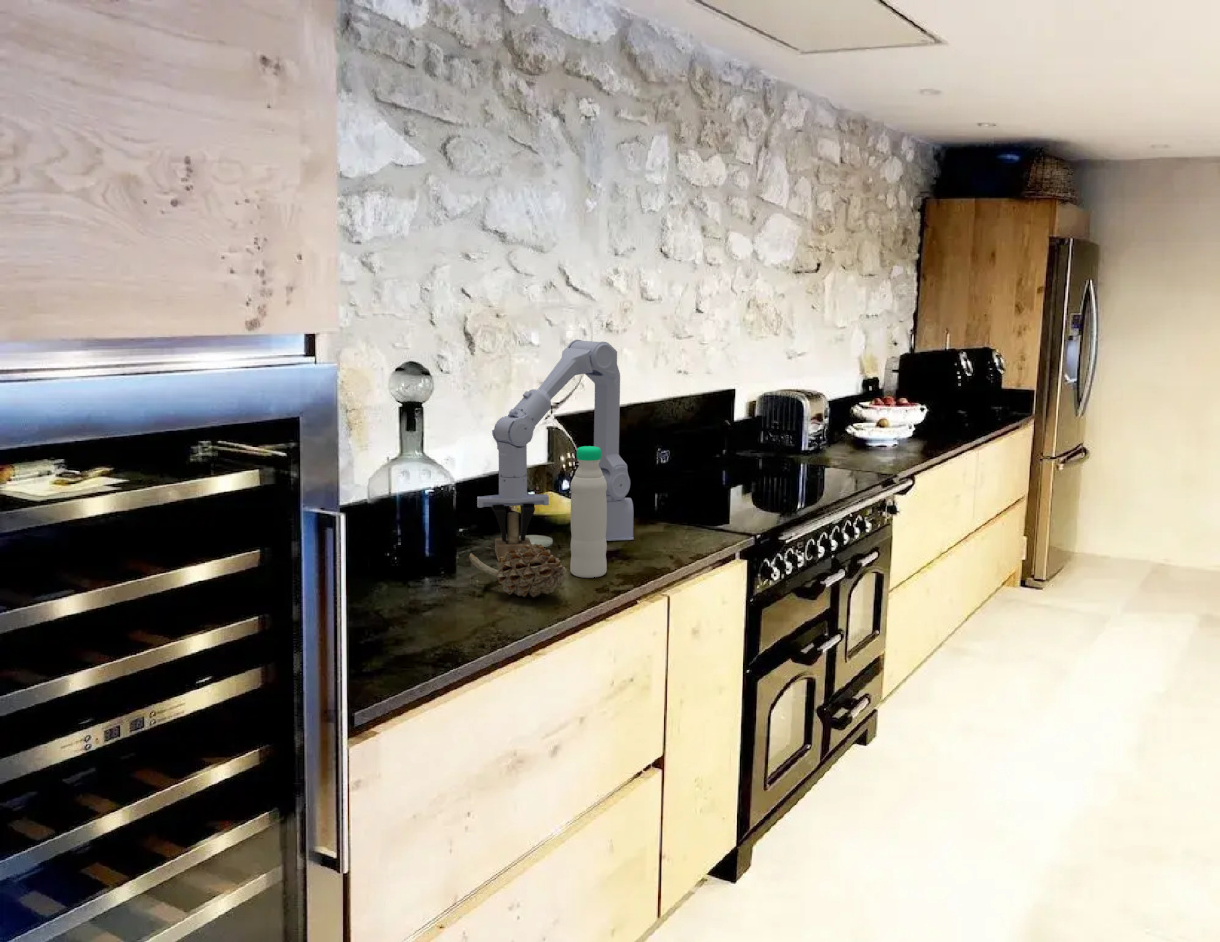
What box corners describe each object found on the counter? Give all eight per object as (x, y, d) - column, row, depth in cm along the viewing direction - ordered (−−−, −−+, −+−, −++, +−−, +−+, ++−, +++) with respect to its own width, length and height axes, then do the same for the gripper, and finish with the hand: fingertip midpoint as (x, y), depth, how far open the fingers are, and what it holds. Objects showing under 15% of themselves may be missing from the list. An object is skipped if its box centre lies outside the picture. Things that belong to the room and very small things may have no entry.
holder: (528, 551, 229) (528, 537, 229) (532, 559, 222) (532, 545, 222) (495, 552, 228) (495, 538, 227) (498, 561, 221) (497, 546, 220)
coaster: (549, 537, 241) (549, 534, 241) (555, 547, 232) (555, 544, 232) (509, 539, 239) (509, 535, 239) (513, 549, 230) (513, 545, 230)
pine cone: (577, 596, 197) (577, 543, 195) (549, 610, 189) (548, 554, 187) (479, 579, 208) (478, 528, 206) (447, 591, 200) (446, 538, 198)
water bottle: (602, 579, 208) (603, 450, 204) (566, 577, 209) (566, 449, 205) (609, 570, 215) (610, 445, 210) (575, 568, 216) (575, 443, 212)
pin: (518, 554, 226) (518, 512, 225) (519, 557, 224) (519, 514, 223) (507, 554, 226) (506, 512, 224) (508, 557, 224) (507, 515, 222)
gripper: (545, 470, 227) (545, 534, 230) (475, 472, 225) (476, 536, 227) (550, 476, 221) (550, 542, 223) (478, 479, 218) (479, 544, 220)
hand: (513, 540), depth 224 cm, fingers open, 3 cm apart
